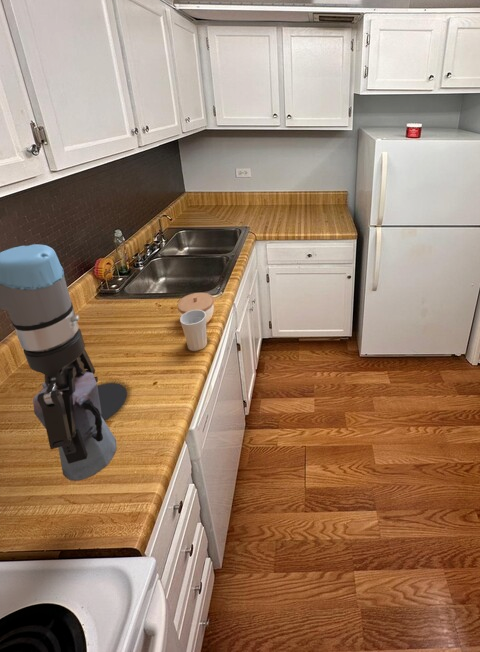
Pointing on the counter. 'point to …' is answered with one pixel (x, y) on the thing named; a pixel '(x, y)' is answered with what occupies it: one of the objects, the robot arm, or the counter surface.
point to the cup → (194, 329)
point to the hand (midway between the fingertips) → (85, 434)
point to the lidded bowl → (197, 304)
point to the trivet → (111, 398)
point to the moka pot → (85, 429)
